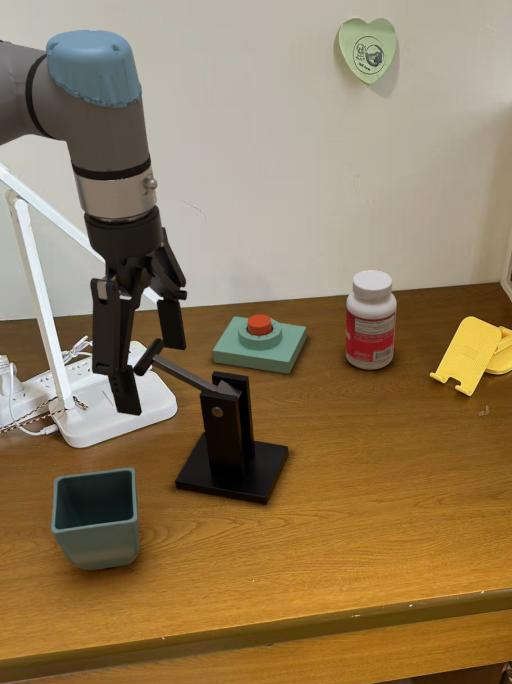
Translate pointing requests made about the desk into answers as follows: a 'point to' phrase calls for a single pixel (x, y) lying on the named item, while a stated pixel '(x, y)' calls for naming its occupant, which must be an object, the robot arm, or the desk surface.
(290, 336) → the button box
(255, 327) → the button
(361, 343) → the pill bottle
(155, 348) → the lever
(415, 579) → the desk surface
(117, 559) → the flower pot
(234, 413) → the bracket
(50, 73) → the robot arm
